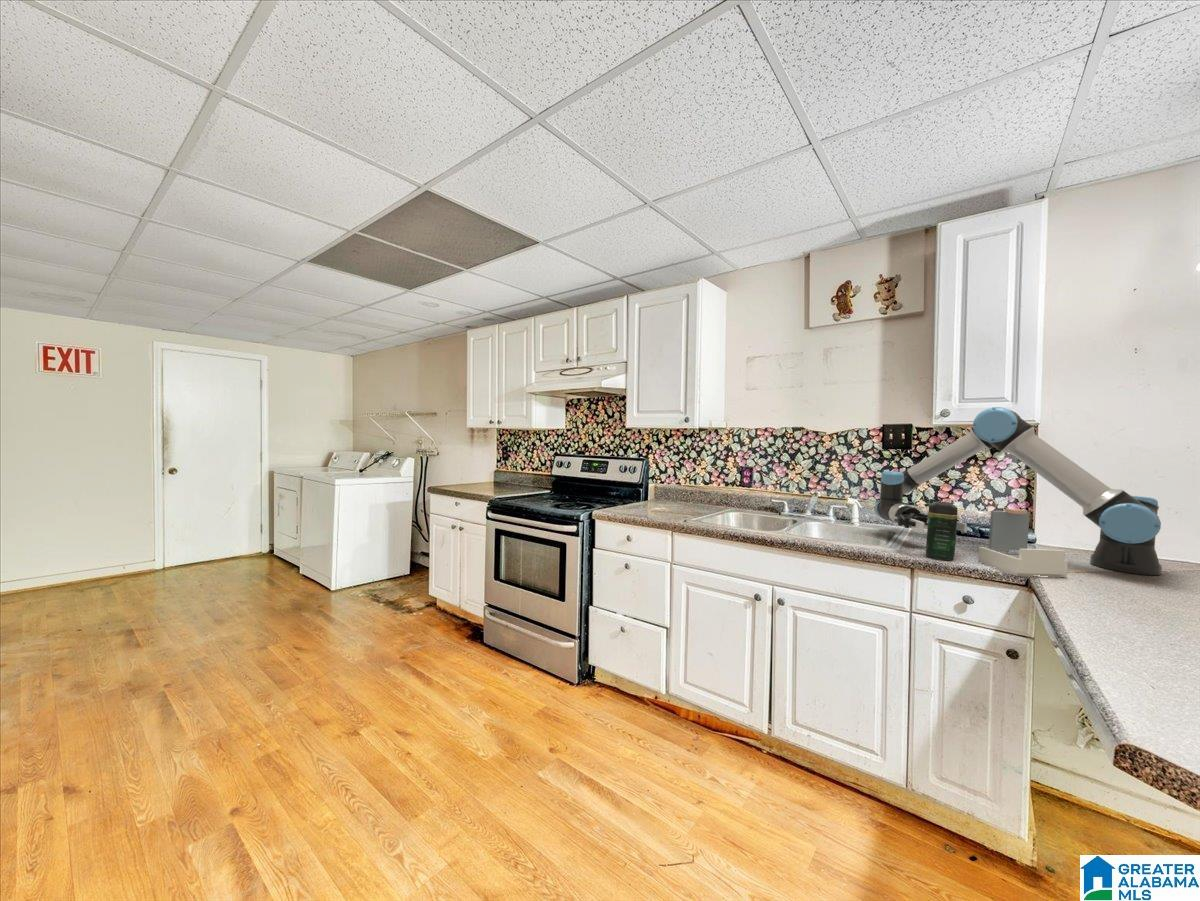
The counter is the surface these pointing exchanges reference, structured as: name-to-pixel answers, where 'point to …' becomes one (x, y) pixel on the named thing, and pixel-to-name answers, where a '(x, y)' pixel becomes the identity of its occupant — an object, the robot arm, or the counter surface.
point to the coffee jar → (941, 530)
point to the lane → (1027, 562)
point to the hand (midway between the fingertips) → (944, 527)
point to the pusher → (1009, 529)
